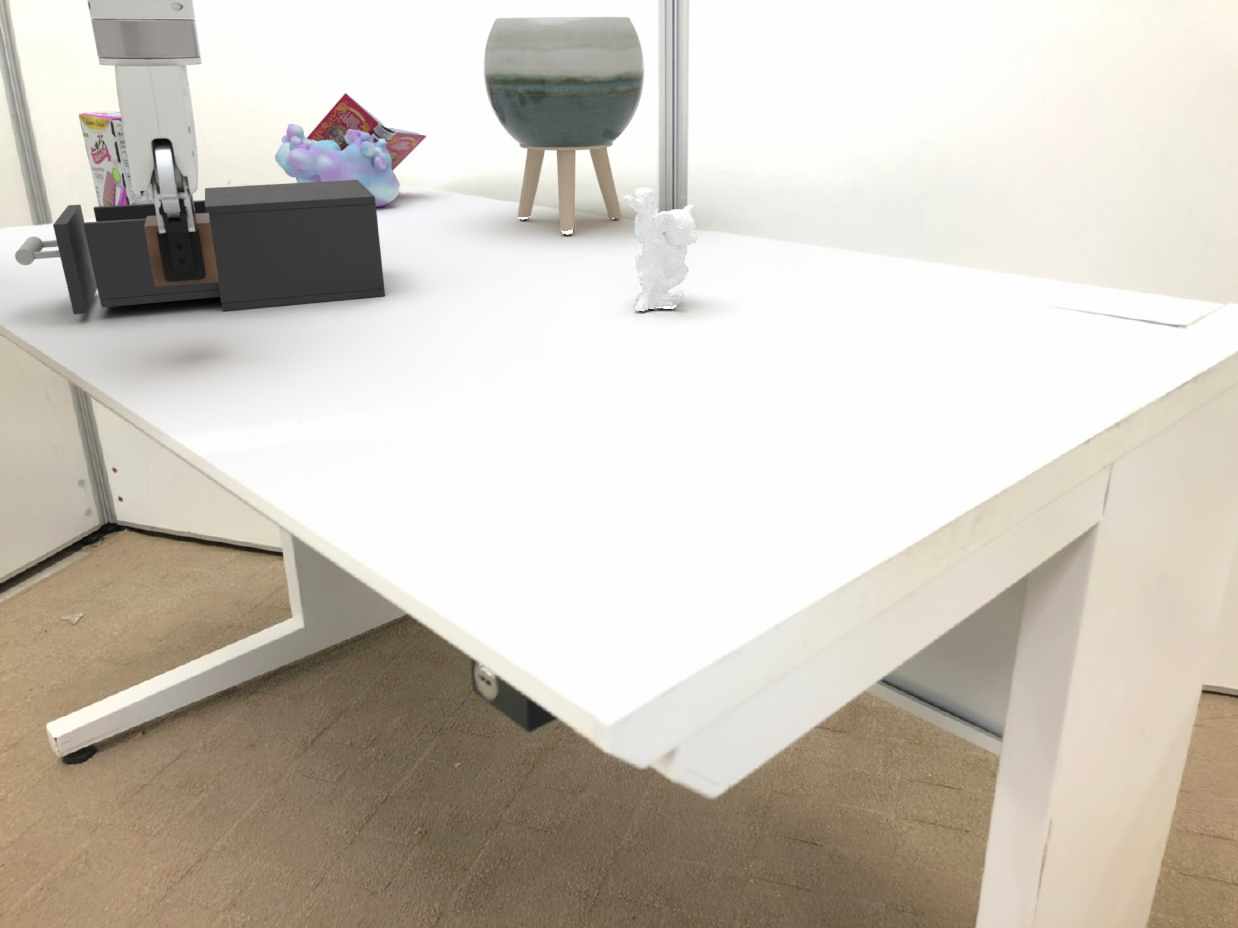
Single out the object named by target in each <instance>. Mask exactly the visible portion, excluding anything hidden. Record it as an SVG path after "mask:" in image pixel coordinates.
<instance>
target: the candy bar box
mask: <svg viewBox="0 0 1238 928" xmlns="http://www.w3.org/2000/svg"><path fill="white" fill-rule="evenodd" d="M78 119H79V122H80V128H81V132H82V136H83V142H84V145H85V150H86V154H87V155H86V156H87V158H88V163H89V167H90V172H91V176H92V180H93V185H94V190H95V194H96V199H97V203H98V206H115V205H131V204H148V203H154V199H153V191H152V185H151V184H150V186H149V189H148V191H145V192H144V195H143V197H138V196H137V195H135V194H134V193H133V191H132V184H131V177H130V170H129V164H128V158H127V152H126V146H125V140H124V134H123V128H122V122H121V116H120V111H113V110H111V111H94V112H93V111H92V112H84V113H83V112H82V113H79V114H78Z"/></svg>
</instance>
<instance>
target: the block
mask: <svg viewBox="0 0 1238 928" xmlns="http://www.w3.org/2000/svg"><path fill="white" fill-rule="evenodd" d="M185 215H186V214H185ZM193 218H194V225H195V231H196V230H199V235H200V241H201V247H202V253H203V260H204V266H205V272H206V276H205V278H204V279H202V280H188V281H174V282H169V281H167V280H166V279H165V277H164V271H163V266H162V260H161V254H160V249H159V243H158V238H157V233H159V229H158V223H157V216H147V219H146V222H145V226H144V228H145V234H146V239H147V245H148V250H149V256H150V261H151V267H152V272H153V278H154V283H155V286H167V285H181V284H194V283H208V282H218V267H217V261H216V255H215V248H214V242H213V235H212V229H211V222H210V216H209V213H197V214H193ZM186 220H187V219H186Z"/></svg>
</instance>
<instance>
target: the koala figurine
mask: <svg viewBox="0 0 1238 928" xmlns="http://www.w3.org/2000/svg"><path fill="white" fill-rule="evenodd" d="M622 198H623V201H624V202H625V203H626V204H627V205H628V206H629V207H630V208H632V209H633V210H634V212H636V215H635V218H634V236H635V238H636V240H637V241H638V243H641V244H642V248H641V251H639V252H637V253H636V256H635V268H636V270H637V271H636V272H637V279H638V282H639V286H640V287H641V288H642V291H641V292H639V293H637V294H636V296H635V301H636V304H635V307H634V311H636V310H638V311H641V310H647V309H651V308H656V307H663V306H669V307H670V306H671V307H672V306H675V305H677V306H679V304H680V303H681V302H682V301H683V300H684V299H685V298H686V293H685V291H684V290H677V291H674V292H669V291H670V290H672V289H674V288H675V287H677V286H680V284H681V283H683V281H684V280H685V279H686V277H687V275H688V273H689V268H688V266H687V264H685V260H686V256H687V254H688V246H691V245H692V244H695V243H696V241H697V240H698V237H697V234H696V232H695V230H696V228H697V224H696V220H695V219H694V217H693V214H694V213H693V212H694V210H695V209H694V208H695V206H694V205H693V204H688V205H686V206H684V207H683V208H682V209H681V208H675V209H671V210H662V211H660V212H659V206H658V202H657V193H656V191H654V189H652V188H647V187H643V186H641V187H638V188H637V189H636V190H635V191H634V197H633V196H632V195H630V194H626V195H624V196H623V197H622ZM638 311H637V312H638ZM647 311H648V310H647Z"/></svg>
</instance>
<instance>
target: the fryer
mask: <svg viewBox="0 0 1238 928" xmlns="http://www.w3.org/2000/svg"><path fill="white" fill-rule="evenodd" d="M204 200H205V210H206V213H209V216H210V222H211V229H212V235H213V242H214V248H215V255H216V261H217V267H218V287H219V293H220V297H219V298H220V303H221V304H220V305H221V310H222V312H229V311H239V310H250V309H260V308H261V309H262V308H271V307H282V306H293V305H303V304H314V303H324V302H336V301H346V300H359V299H368V298H378V297H379V298H380V297H385V296H386V291H385V281H384V271H383V261H382V253H381V252H382V251H381V240H380V233H379V223H378V222H379V221H378V213H377V207H376V204H375V203H376V202H375V196H374V195H373V194H372V193H371V192H370V191H369V190H368V189H367V188H366V187H365V186H364V185H363V184H362V183H360V182H359V181H358V180H342V181H324V182H306V183H297V182H292V183H291V182H289V183H273V184H271V183H270V184H254V185H253V184H252V185H238V186H237V185H236V186H218V187H217V186H216V187H205V188H204Z"/></svg>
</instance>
